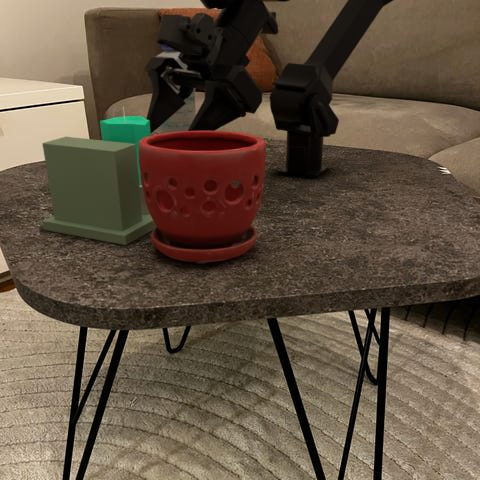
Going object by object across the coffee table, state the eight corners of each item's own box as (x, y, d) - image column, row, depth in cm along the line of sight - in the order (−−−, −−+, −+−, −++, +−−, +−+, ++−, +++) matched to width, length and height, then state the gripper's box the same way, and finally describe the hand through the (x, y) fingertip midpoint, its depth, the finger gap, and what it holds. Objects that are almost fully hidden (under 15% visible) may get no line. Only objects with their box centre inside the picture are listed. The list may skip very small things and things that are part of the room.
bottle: (168, 173, 94) (159, 34, 85) (153, 164, 100) (143, 32, 90) (206, 168, 97) (202, 32, 87) (190, 159, 102) (184, 31, 93)
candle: (118, 214, 73) (107, 112, 67) (102, 201, 77) (91, 105, 71) (163, 206, 75) (156, 107, 70) (145, 194, 80) (137, 101, 74)
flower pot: (278, 264, 62) (281, 148, 56) (151, 276, 59) (141, 155, 53) (249, 224, 73) (250, 123, 67) (142, 232, 70) (133, 128, 65)
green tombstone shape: (130, 191, 86) (123, 118, 81) (202, 201, 81) (200, 124, 76) (43, 230, 71) (29, 144, 66) (126, 245, 67) (116, 154, 62)
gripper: (150, -12, 77) (85, 86, 76) (243, -15, 64) (166, 103, 64) (201, 50, 85) (143, 140, 84) (292, 59, 73) (225, 164, 72)
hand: (166, 136), depth 76 cm, fingers open, 9 cm apart
